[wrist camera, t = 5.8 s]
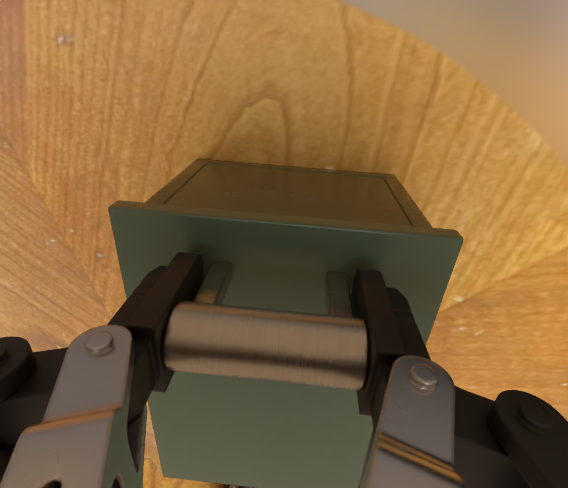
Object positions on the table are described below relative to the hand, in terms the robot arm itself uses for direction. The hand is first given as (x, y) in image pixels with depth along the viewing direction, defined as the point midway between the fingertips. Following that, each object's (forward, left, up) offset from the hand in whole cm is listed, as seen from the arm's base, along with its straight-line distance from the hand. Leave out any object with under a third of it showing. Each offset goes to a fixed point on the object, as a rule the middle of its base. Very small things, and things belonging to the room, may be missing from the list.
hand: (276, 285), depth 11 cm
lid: (+6, 0, -1) cm, 6 cm away
